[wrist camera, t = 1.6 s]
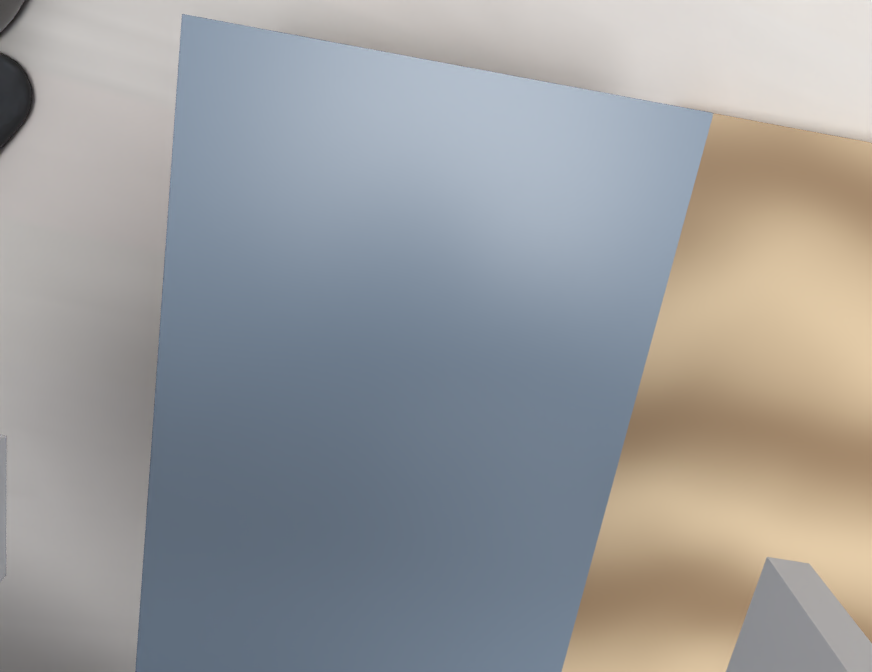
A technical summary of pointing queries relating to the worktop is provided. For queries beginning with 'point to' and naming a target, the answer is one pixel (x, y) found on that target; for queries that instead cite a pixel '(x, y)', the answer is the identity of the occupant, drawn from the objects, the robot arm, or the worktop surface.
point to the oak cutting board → (744, 409)
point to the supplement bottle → (8, 11)
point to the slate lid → (394, 354)
